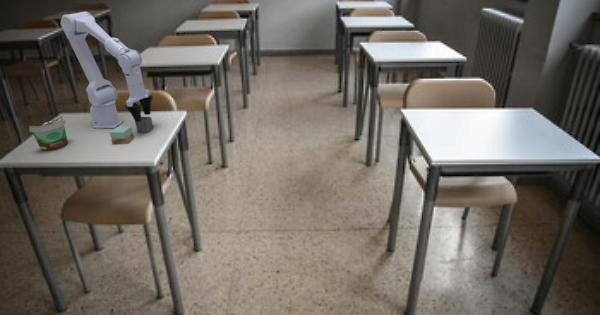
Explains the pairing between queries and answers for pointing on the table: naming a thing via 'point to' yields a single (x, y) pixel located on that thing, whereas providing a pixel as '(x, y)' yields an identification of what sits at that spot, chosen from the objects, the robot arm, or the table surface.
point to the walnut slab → (122, 140)
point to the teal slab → (121, 132)
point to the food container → (50, 134)
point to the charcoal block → (144, 125)
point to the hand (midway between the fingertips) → (143, 117)
